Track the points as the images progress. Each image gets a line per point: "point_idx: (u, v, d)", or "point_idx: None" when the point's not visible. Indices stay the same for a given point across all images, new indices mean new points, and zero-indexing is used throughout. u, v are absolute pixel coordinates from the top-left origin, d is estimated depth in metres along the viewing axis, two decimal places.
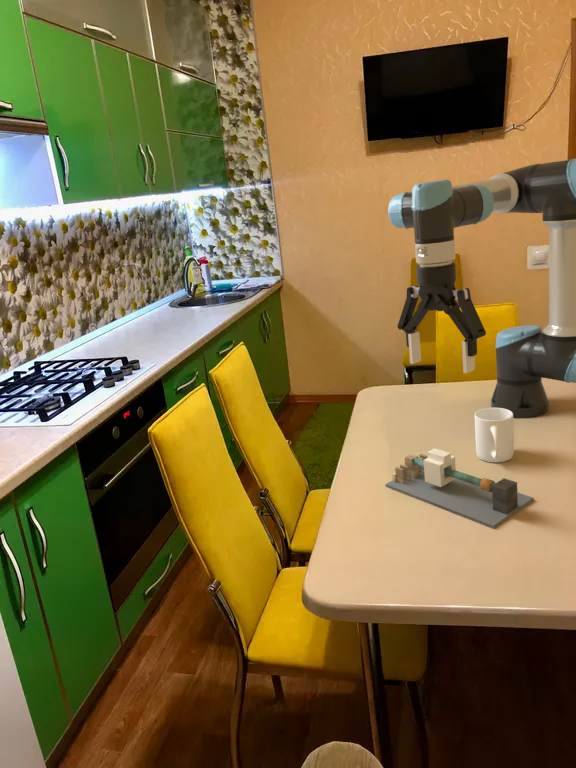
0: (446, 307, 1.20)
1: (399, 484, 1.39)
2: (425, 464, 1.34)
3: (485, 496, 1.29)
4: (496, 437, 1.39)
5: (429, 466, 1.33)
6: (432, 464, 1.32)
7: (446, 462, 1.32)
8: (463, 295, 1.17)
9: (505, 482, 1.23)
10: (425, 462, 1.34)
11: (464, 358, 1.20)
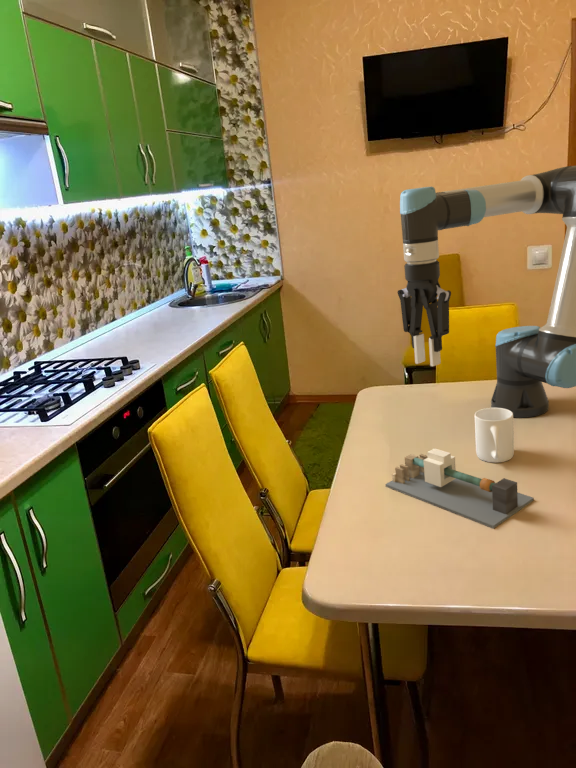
0: (427, 304, 1.35)
1: (399, 484, 1.39)
2: (425, 464, 1.34)
3: (485, 496, 1.29)
4: (496, 437, 1.39)
5: (429, 466, 1.33)
6: (432, 464, 1.32)
7: (446, 462, 1.32)
8: (444, 298, 1.32)
9: (505, 482, 1.23)
10: (425, 462, 1.34)
11: (431, 353, 1.39)
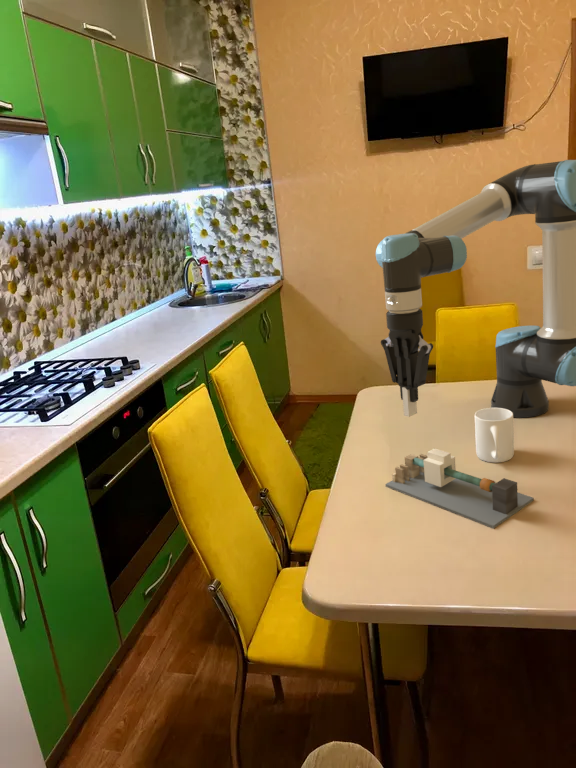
0: (407, 354, 1.30)
1: (399, 484, 1.39)
2: (425, 464, 1.34)
3: (485, 496, 1.29)
4: (496, 437, 1.39)
5: (429, 466, 1.33)
6: (432, 464, 1.32)
7: (446, 462, 1.32)
8: (425, 352, 1.27)
9: (505, 482, 1.23)
10: (425, 462, 1.34)
11: (407, 403, 1.35)
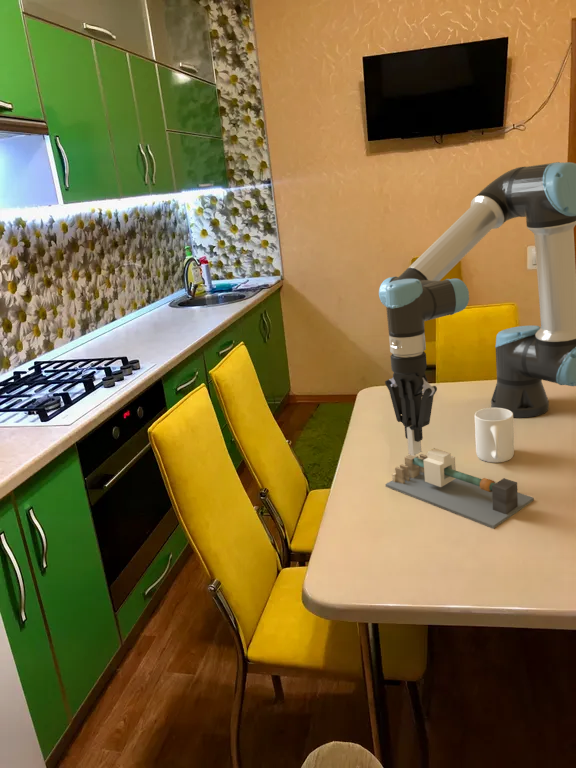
0: (411, 396, 1.33)
1: (399, 484, 1.39)
2: (425, 464, 1.34)
3: (485, 496, 1.29)
4: (496, 437, 1.39)
5: (429, 466, 1.33)
6: (432, 464, 1.32)
7: (446, 462, 1.32)
8: (429, 394, 1.30)
9: (505, 482, 1.23)
10: (425, 462, 1.34)
11: (411, 443, 1.37)
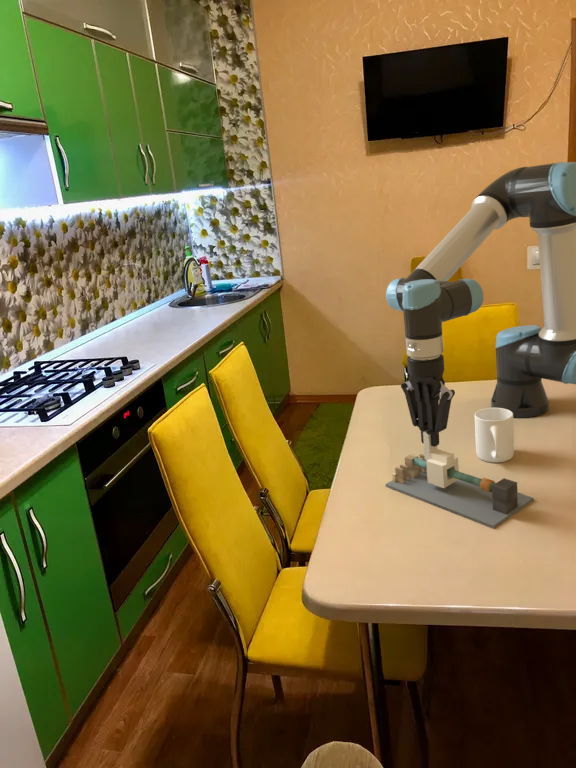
0: (428, 400, 1.29)
1: (399, 484, 1.39)
2: (428, 465, 1.33)
3: (485, 496, 1.29)
4: (496, 437, 1.39)
5: (432, 467, 1.33)
6: (435, 465, 1.32)
7: (449, 462, 1.31)
8: (447, 398, 1.26)
9: (505, 482, 1.23)
10: (428, 463, 1.33)
11: (427, 448, 1.34)
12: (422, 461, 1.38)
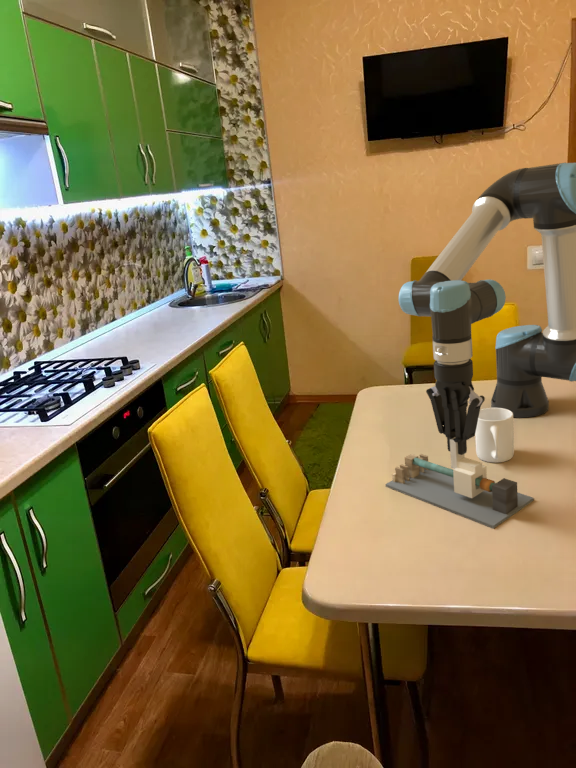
0: (456, 406, 1.24)
1: (399, 484, 1.39)
2: (455, 474, 1.28)
3: (485, 496, 1.29)
4: (496, 437, 1.39)
5: (459, 476, 1.27)
6: (463, 474, 1.26)
7: (477, 471, 1.26)
8: (476, 405, 1.21)
9: (505, 482, 1.23)
10: (455, 472, 1.28)
11: (454, 456, 1.28)
12: (422, 461, 1.38)
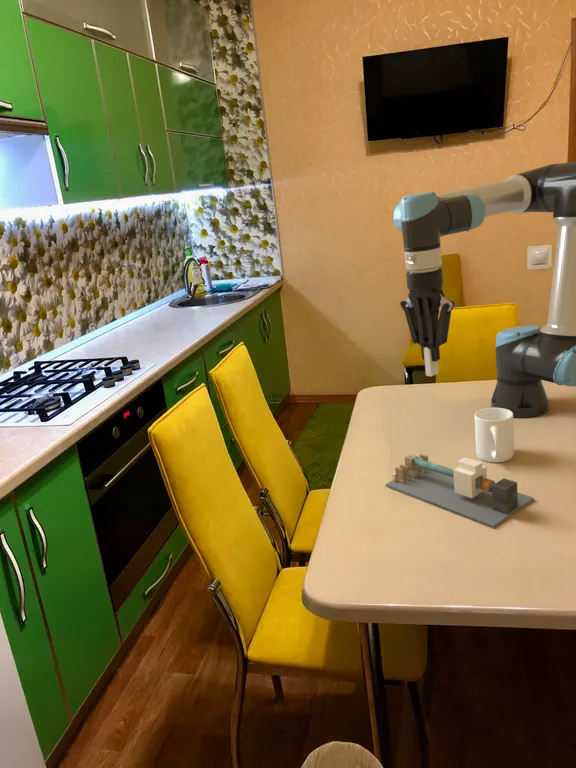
0: (429, 313, 1.31)
1: (399, 484, 1.39)
2: (455, 474, 1.28)
3: (485, 496, 1.29)
4: (496, 437, 1.39)
5: (459, 476, 1.27)
6: (463, 474, 1.26)
7: (477, 471, 1.26)
8: (447, 309, 1.28)
9: (505, 482, 1.23)
10: (455, 472, 1.28)
11: (429, 363, 1.36)
12: (422, 461, 1.38)
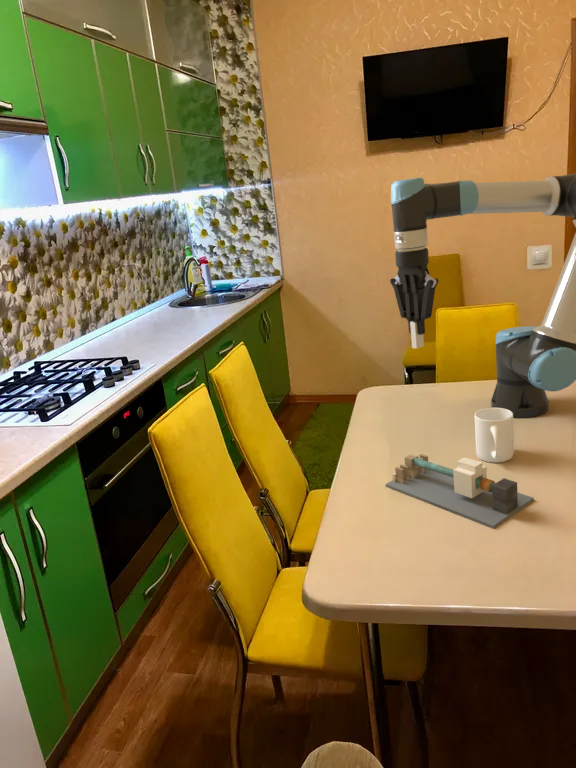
0: (415, 289, 1.43)
1: (399, 484, 1.39)
2: (455, 474, 1.28)
3: (485, 496, 1.29)
4: (496, 437, 1.39)
5: (459, 476, 1.27)
6: (463, 474, 1.26)
7: (477, 471, 1.26)
8: (431, 285, 1.40)
9: (505, 482, 1.23)
10: (455, 472, 1.28)
11: (414, 336, 1.48)
12: (422, 461, 1.38)
